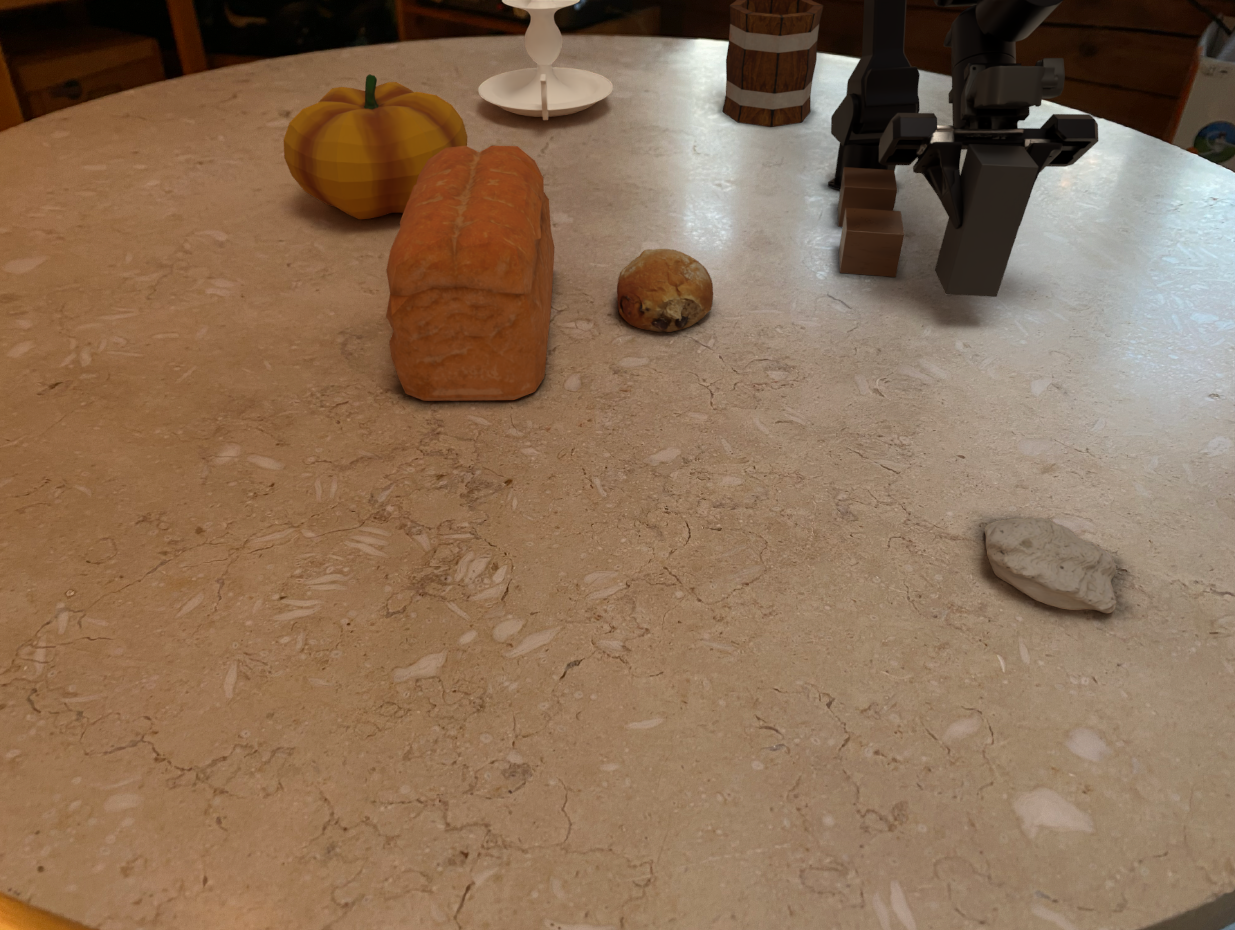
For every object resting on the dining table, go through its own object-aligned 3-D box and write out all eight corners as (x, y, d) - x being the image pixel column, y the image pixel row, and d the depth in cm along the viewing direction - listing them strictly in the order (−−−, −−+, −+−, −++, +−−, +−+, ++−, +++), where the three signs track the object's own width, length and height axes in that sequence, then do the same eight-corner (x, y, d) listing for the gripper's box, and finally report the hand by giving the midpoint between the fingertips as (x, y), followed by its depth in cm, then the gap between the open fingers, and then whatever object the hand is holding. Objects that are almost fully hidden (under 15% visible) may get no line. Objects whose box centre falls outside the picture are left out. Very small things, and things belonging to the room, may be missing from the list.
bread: (390, 404, 84) (360, 248, 74) (432, 265, 104) (413, 129, 95) (547, 402, 84) (537, 246, 74) (557, 264, 105) (551, 128, 95)
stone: (1169, 592, 62) (1038, 576, 60) (1129, 637, 65) (1002, 623, 63) (1099, 492, 70) (980, 475, 68) (1066, 536, 73) (951, 521, 71)
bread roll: (715, 332, 100) (728, 256, 98) (694, 340, 90) (708, 256, 88) (627, 317, 102) (638, 243, 100) (598, 323, 93) (608, 241, 91)
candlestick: (473, 143, 134) (451, -81, 116) (484, 88, 153) (466, -111, 136) (617, 140, 135) (617, -83, 117) (609, 86, 154) (608, -113, 136)
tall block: (934, 270, 95) (968, 143, 87) (983, 272, 95) (1022, 146, 87) (945, 294, 91) (982, 164, 83) (996, 297, 91) (1039, 167, 83)
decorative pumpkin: (292, 181, 123) (265, 62, 114) (458, 161, 129) (445, 45, 119) (301, 246, 108) (271, 115, 99) (489, 220, 114) (477, 93, 104)
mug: (817, 127, 139) (831, 17, 129) (725, 126, 139) (733, 17, 129) (798, 85, 154) (810, -15, 145) (716, 85, 154) (722, -15, 145)
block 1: (837, 206, 117) (843, 167, 113) (887, 209, 116) (894, 170, 113) (838, 226, 112) (844, 186, 109) (889, 230, 111) (897, 189, 108)
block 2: (839, 248, 107) (845, 207, 104) (892, 252, 107) (900, 211, 103) (839, 273, 103) (846, 230, 100) (895, 277, 102) (904, 234, 99)
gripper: (909, 19, 81) (911, 193, 80) (1126, 21, 81) (1133, 195, 79) (876, 84, 93) (878, 238, 91) (1067, 86, 92) (1072, 240, 90)
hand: (986, 227), depth 88 cm, fingers closed on tall block, 5 cm apart
